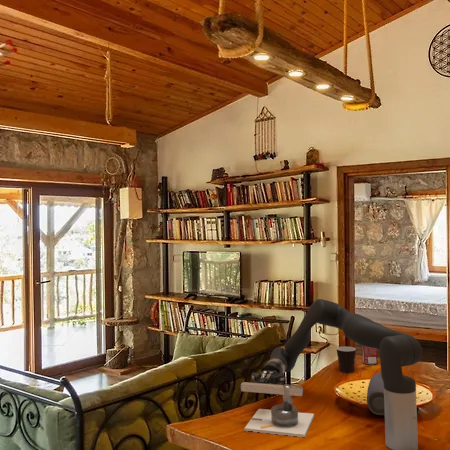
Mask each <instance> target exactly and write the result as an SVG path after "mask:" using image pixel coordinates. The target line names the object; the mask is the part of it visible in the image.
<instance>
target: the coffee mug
mask: <svg viewBox="0 0 450 450" xmlns="http://www.w3.org/2000/svg"><path fill="white" fill-rule="evenodd" d="M356 352H357V349H356V347H353V346H338V347H336V355H337V362H338V369H339V371H340V373H344V374H351V373H354V372H355V364H356Z"/></svg>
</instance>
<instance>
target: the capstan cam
mask: <svg viewBox="0 0 450 450" xmlns="http://www.w3.org/2000/svg"><path fill="white" fill-rule="evenodd" d="M303 388H304V387H303V386H297V385H291V384H289V383H286V384H261V383H256V382H247V381H246V382H245V381H242V383H241V384H240V391H241V392H245V393H247V392H248V393H259V394H260V393H261V394H271V395H281V396H282V402H283V403H280V404H275V405H273V406H272V407H271V408H270V410H271V421H272V423H274V424H276V425H279V426H291V425H295V424H297V423H298V412H299V408H298V407H297V406H295V405H293V396H295V397H302V396H303V394H304V389H303Z"/></svg>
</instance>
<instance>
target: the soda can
mask: <svg viewBox="0 0 450 450" xmlns="http://www.w3.org/2000/svg"><path fill="white" fill-rule="evenodd" d="M361 346H362V345H361ZM378 357H379V356H378V349H377V348H371V347H366V346H362V363H364V364H366V365H368V366H369V365H370V366H373V365H377V364H378V363H379V362H378V361H379V360H378Z"/></svg>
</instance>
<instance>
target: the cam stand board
mask: <svg viewBox="0 0 450 450" xmlns="http://www.w3.org/2000/svg"><path fill="white" fill-rule="evenodd" d="M314 418H315V413H311V412H310V413H309V412H299V411H298V423H297V424H295V425H291V426H279V425H276V424H274V423H272V421H271V409H267V408H266V409H264V408H258V409H257V411H256V412H255V413H254V415H253V416H252V418H251V419H250V420H249V422H247V424H246V426H245V427H244V432H248V431H253V432H252V433H257V432H260V433H259V434H266V433H270V434H269V435H275V434H278V436H284V435H288V436H287V437H293V436H297V437H296V438H302V437H305V438H306V436H307V435H308V432H309V429H310V427H311V425H312V422H313V420H314Z"/></svg>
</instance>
